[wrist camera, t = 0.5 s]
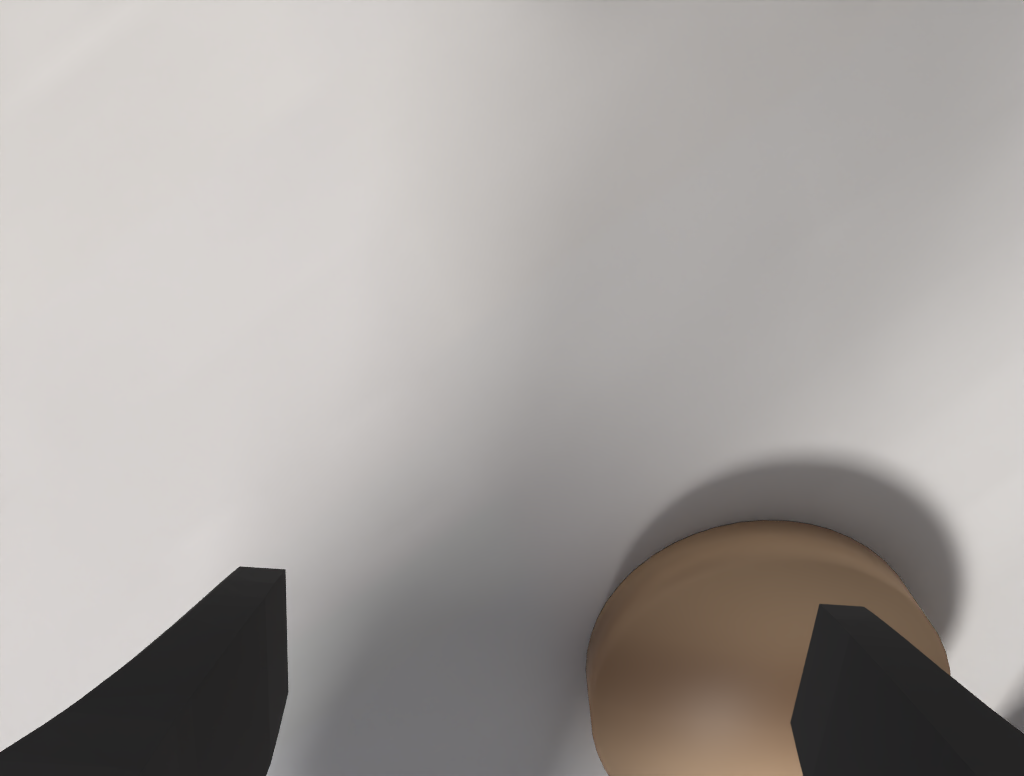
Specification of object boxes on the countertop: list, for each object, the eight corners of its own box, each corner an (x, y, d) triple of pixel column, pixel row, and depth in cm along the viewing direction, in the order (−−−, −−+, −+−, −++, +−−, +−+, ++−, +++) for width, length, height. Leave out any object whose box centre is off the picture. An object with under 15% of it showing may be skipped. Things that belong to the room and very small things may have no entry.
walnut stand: (875, 799, 26) (900, 852, 25) (568, 779, 26) (572, 831, 24) (961, 534, 23) (996, 575, 21) (608, 506, 23) (615, 546, 21)
